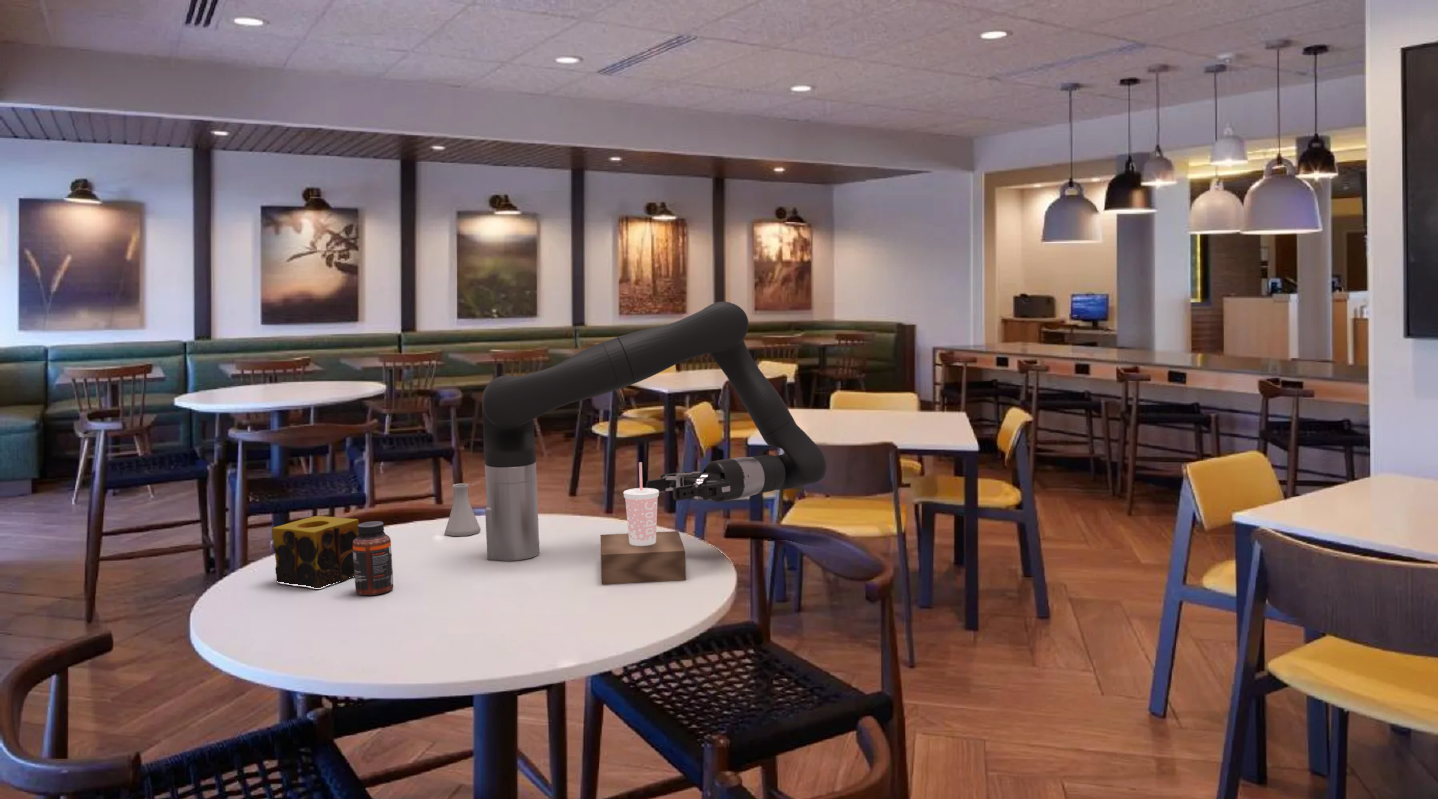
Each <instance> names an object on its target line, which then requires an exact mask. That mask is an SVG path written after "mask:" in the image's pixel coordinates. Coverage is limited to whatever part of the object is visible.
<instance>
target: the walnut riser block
mask: <svg viewBox="0 0 1438 799" xmlns="http://www.w3.org/2000/svg"><path fill="white" fill-rule="evenodd" d="M599 537H600V568H601V569H600V571H601V572H600V573H601V577H600V578H601V585H617V584H631V583H632V584H635V583H652V582H669V581H670V582H673V581H686V580H687V570H686V565H687V564H686V549H685V547H684V546H685V545H684V544H683V543H684V542H683V541H682V538H681V534H680V532H679V530H678V531H677V530H674V531H656V543H655V544H652V545H647V546H635V545H631V544H630V543H629V534H628V532H627V533H614V534H613V533H610V534H600V536H599Z"/></svg>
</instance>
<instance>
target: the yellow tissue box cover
mask: <svg viewBox="0 0 1438 799" xmlns="http://www.w3.org/2000/svg"><path fill="white" fill-rule="evenodd" d="M359 524H360V522H359V519H358V518H346V517H335V516H323V515H315V516H310V517H307V518H302V519H299V520H295V521H291V522H288V523H285V524H281V525H277V526H274V527H272V529H271V530H272V533H271V534H272V543H273V544H272V545H273V549H274V552H275V553H274V557H275V558H274V559H275V569H274V571H275V575H276V576H275V577H276V580H275V581H278V582H284V583H289V584H298V585H306V586H311V587H314V588H321V587H323V586H326V585H328V584H333V583H336V582H339V581H342V580H345V581H348V580H349V579H348V578H349V577H353V576H355V574H354V559H353V540H354V539H355V538H356V537H357V536H358V534H359V533H358V525H359ZM353 578H354V577H353Z"/></svg>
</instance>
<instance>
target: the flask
mask: <svg viewBox="0 0 1438 799" xmlns="http://www.w3.org/2000/svg"><path fill="white" fill-rule="evenodd" d="M451 488H452V489H453V502H452V507H451V510H450V514H449V518H448V521H447V524H446V526H445V531H444V533H443V535H446V536H453V537H460V536H461V537H463V536H472V535H475V534H478V533H480V531H481V527H480V524H479V522H478V519H477V517H476V514H475V512H474V509H473V508H472V506H471V503H470V499H469V493H468V488H469V483H464V482H463V483H455V484H452V487H451Z"/></svg>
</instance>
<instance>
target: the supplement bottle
mask: <svg viewBox="0 0 1438 799" xmlns="http://www.w3.org/2000/svg"><path fill="white" fill-rule="evenodd" d="M358 533H359V534H358V536H357V537H356V538H355V539H354V540H353V559H354V574H355V577H354V586H355V592H356V593H357V594H359V595H361V596H378V595H379V596H380V595H383V594H386V593H388V592H390V591H391V590H392V589H394V570H393V556H392V555H393V553H392V539H391V537H390V536H389V535H388V534H386V532H385V524H384V522H383V521H380V520H378V521H376V520H375V521H365V522H361V523H359V525H358Z"/></svg>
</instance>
